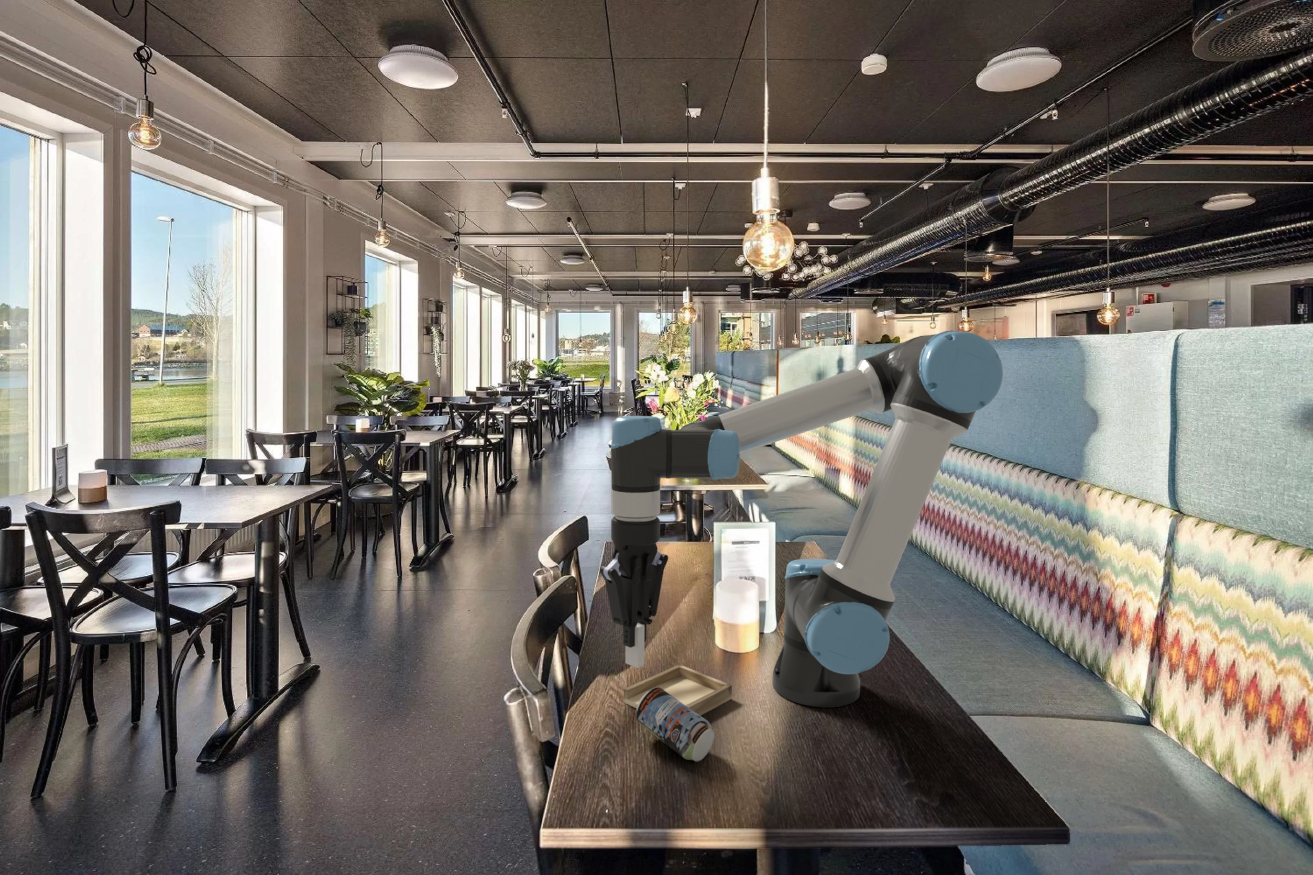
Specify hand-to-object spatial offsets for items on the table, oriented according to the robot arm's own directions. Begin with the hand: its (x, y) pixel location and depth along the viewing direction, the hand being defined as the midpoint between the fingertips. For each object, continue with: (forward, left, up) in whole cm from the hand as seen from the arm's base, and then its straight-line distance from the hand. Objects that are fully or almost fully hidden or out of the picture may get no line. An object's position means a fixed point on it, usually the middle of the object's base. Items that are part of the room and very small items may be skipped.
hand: (634, 663), depth 108 cm
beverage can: (-3, +1, -6) cm, 6 cm away
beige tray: (0, -11, -10) cm, 14 cm away
